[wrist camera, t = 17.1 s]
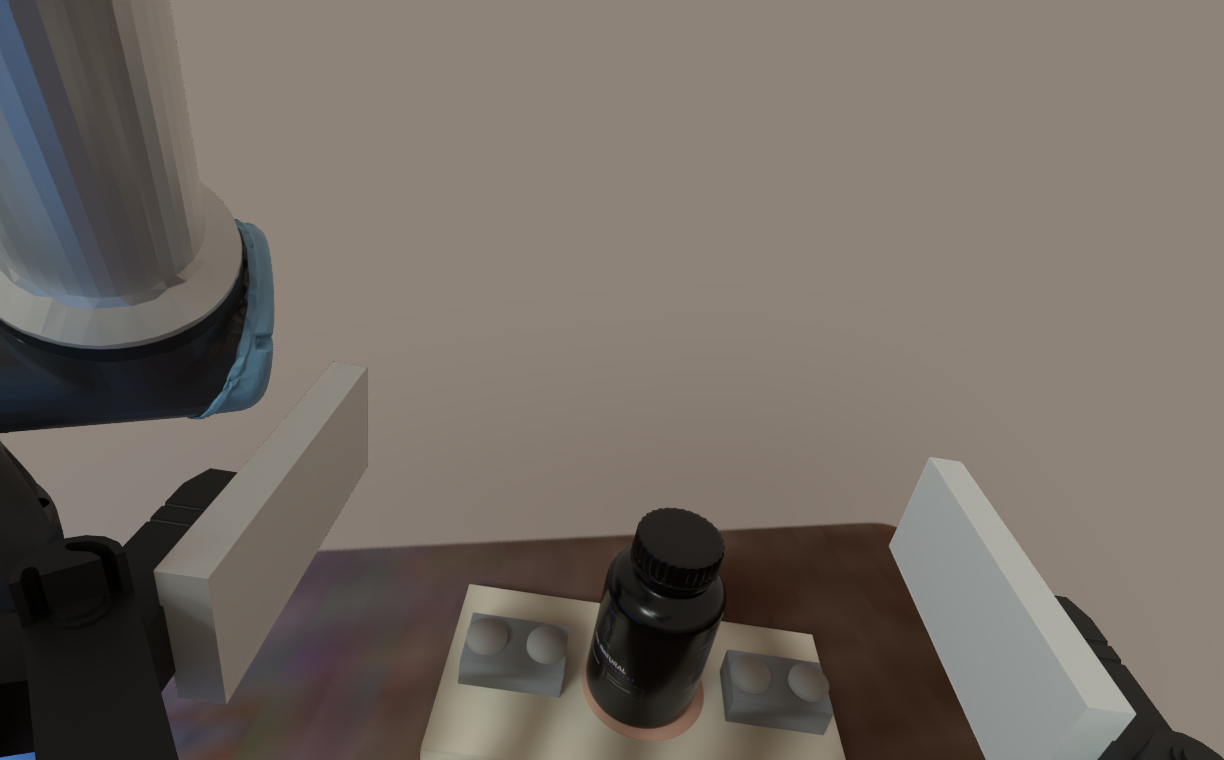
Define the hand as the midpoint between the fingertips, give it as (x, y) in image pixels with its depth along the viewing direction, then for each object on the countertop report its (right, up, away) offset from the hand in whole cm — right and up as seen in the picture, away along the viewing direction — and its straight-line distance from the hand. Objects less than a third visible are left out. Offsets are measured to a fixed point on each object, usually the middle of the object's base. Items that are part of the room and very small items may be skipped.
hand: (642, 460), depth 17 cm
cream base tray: (+1, -18, +27) cm, 32 cm away
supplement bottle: (+1, -17, +27) cm, 32 cm away
